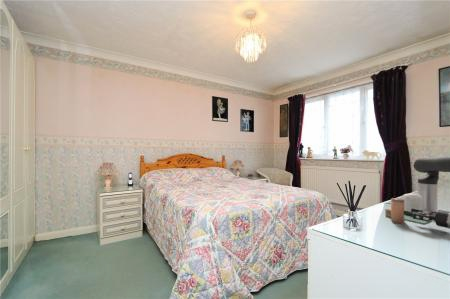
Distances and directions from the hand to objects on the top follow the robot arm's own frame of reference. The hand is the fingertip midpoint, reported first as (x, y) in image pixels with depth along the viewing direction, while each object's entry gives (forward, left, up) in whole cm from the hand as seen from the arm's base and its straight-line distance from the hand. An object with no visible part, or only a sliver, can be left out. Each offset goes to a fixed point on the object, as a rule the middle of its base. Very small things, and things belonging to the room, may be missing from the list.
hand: (407, 211), depth 113 cm
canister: (0, -4, -7) cm, 8 cm away
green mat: (-12, -1, -7) cm, 14 cm away
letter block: (-8, -11, -7) cm, 15 cm away
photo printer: (-24, -7, -7) cm, 26 cm away
